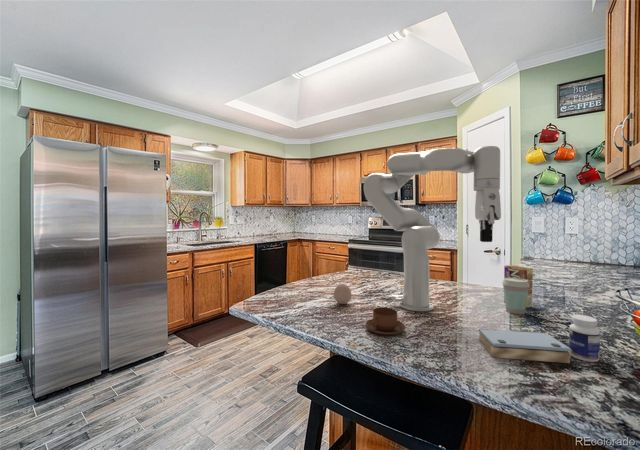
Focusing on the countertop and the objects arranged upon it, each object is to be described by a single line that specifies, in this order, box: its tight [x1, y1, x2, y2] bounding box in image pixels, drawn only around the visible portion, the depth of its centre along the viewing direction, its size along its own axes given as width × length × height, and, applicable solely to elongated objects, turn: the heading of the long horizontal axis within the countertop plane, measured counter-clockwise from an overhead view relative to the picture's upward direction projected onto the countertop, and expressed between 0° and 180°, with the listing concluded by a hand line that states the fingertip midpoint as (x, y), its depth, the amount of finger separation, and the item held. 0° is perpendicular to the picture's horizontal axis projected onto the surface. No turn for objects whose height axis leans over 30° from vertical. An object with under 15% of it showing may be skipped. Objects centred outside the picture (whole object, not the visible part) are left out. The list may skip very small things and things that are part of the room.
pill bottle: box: [568, 314, 601, 363], centre depth 74 cm, size 6×6×10 cm
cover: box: [478, 328, 571, 352], centre depth 78 cm, size 17×11×1 cm, turn 79°
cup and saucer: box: [365, 307, 406, 336], centre depth 93 cm, size 12×12×6 cm
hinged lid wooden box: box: [478, 331, 571, 364], centre depth 78 cm, size 17×10×2 cm, turn 79°
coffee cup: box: [501, 277, 530, 315], centre depth 109 cm, size 8×8×12 cm
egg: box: [333, 283, 352, 305], centre depth 121 cm, size 7×7×8 cm
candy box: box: [503, 264, 534, 309], centre depth 118 cm, size 9×4×15 cm, turn 26°
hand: (486, 241), depth 97 cm, fingers closed
